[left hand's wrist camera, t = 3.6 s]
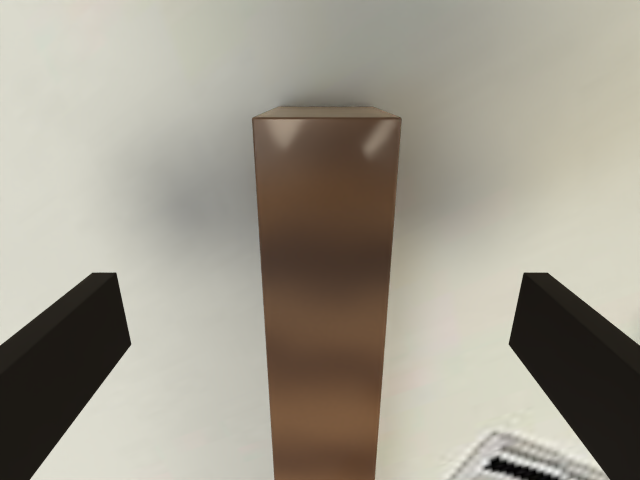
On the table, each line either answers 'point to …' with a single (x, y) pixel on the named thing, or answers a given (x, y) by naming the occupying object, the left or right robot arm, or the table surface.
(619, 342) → the left robot arm
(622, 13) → the table surface
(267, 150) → the beam
